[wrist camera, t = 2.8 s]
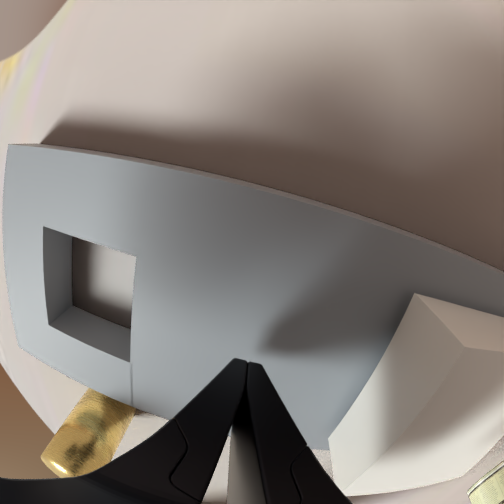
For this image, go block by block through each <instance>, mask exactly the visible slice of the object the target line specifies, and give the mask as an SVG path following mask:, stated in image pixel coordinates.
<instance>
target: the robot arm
mask: <svg viewBox="0 0 504 504" xmlns="http://www.w3.org/2000/svg"><path fill="white" fill-rule="evenodd" d="M231 426H232V427H231ZM230 429H231V440H230V456H229V473H228V490H227V504H352V503H351V501H350V500H349V499H348V498H347V497H346V496H345V495H344V493H343V492H342V491H341V490H340V489H339V488H338V487H337V485H336V484H335V483H334V482H333V480H332V479H331V478H330V477H329V475H328V474H327V473H326V471H325V470H324V469H323V467H322V466H321V464H320V463H319V461H318V460H317V458H316V457H315V455H314V454H313V452H312V450H311V449H310V447H309V446H307V442H306V441H305V439H304V437H303V436H302V434H301V432H300V431H299V429H298V427H297V425H296V424H295V422H294V420H293V419H292V417H291V415H290V413H289V412H288V410H287V408H286V407H285V405H284V403H283V401H282V400H281V398H280V396H279V394H278V392H277V391H276V389H275V387H274V385H273V384H272V382H271V380H270V378H269V376H268V375H267V373H266V371H265V369H264V367H263V365H262V364H260V363H256V362H251V361H249V362H248V363H247V361H246V360H243V359H239V358H233V359H232V360H231V361H230V362H229V363H228V364H227V365H226V366H225V367H224V368H223V369H222V370H221V371H220V372H219V373H218V374H217V375H216V376H215V377H214V378H213V379H212V380H211V381H210V382H209V383H208V384H207V385H206V386H205V387H204V388H203V389H202V390H201V391H200V392H199V393H198V394H197V395H196V396H195V397H194V398H193V399H192V400H191V401H190V402H189V403H188V404H187V405H186V406H185V407H183V408H182V409H181V410H180V411H179V412H178V413H177V414H176V415H175V416H174V417H173V418H172V419H170V420H169V421H168V422H167V423H166V424H165V425H164V426H163V427H162V428H160V429H159V430H158V431H157V432H156V433H154V434H153V435H152V436H151V437H149V438H148V439H146V440H145V441H143V442H142V443H140V444H139V445H137V446H136V447H134V448H133V449H131V450H129V451H128V452H126V453H125V454H123V455H121V456H119V457H118V458H116V459H114V460H113V461H111V462H109V463H107V464H106V465H104V466H102V467H100V468H98V469H96V470H94V471H92V472H90V473H87V474H84V475H80V476H75V477H66V478H52V479H8V478H1V477H0V504H201V503H202V500H203V498H204V495H205V493H206V491H207V488H208V486H209V483H210V481H211V478H212V476H213V473H214V471H215V468H216V466H217V463H218V460H219V458H220V455H221V453H222V450H223V448H224V445H225V442H226V440H227V437H228V434H229V432H230Z"/></svg>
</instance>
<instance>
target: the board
mask: <svg viewBox="0 0 504 504" xmlns="http://www.w3.org/2000/svg"><path fill="white" fill-rule="evenodd" d="M72 236H74V237H77V238H80V239H83V240H86V241H89V242H92V243H95V244H98V245H101V246H104V247H107V248H110V249H114V250H117V251H120V252H123V253H126V254H130V255H133V256H136V266H135V276H134V287H133V301H132V317H131V329H128V328H126V327H123V326H120V325H118V324H115V323H113V322H110V321H108V320H105V319H103V318H100V317H98V316H96V315H93V314H91V313H89V312H86V311H84V310H82V309H79V308H77V307H75V306H73V303H72ZM3 250H4V263H5V274H6V282H7V290H8V297H9V303H10V309H11V314H12V319H13V324H14V329H15V333H16V338H17V342H18V346H19V347H20V348H21V349H23V350H24V351H26V352H27V353H29V354H30V355H32V356H34V357H35V358H37V359H38V360H40V361H42V362H43V363H45V364H47V365H48V366H50V367H52V368H53V369H55V370H57V371H59V372H60V373H62V374H64V375H66V376H68V377H70V378H71V379H73V380H75V381H77V382H79V383H81V384H83V385H85V386H87V387H89V388H91V389H93V390H95V391H97V392H100V393H102V394H104V395H106V396H108V397H111V398H113V399H115V400H117V401H120V402H122V403H125V404H127V405H130V406H132V407H135V408H137V409H140V410H142V411H145V412H148V413H150V414H153V415H156V416H159V417H162V418H165V419H168V420H170V419H172V418H173V417H174V416H175V415H176V414H177V413H178V412H179V411H180V410H181V409H182V408H183V407H185V406H186V405H187V404H188V403H189V402H190V401H191V400H192V399H193V398H194V397H195V396H196V395H197V394H198V393H199V392H200V391H201V390H202V389H203V388H204V387H205V386H206V385H207V384H208V383H209V382H210V381H211V380H212V379H213V378H214V377H215V376H216V375H217V374H218V373H219V372H220V371H221V370H222V369H223V368H224V367H225V366H226V365H227V364H228V363H229V362H230V361H231V360H232V359H233V358H239V359H243V360H246V361H247V363H248V362H249V361H251V362H256V363H260V364H262V365H263V367H264V369H265V371H266V373H267V375H268V376H269V378H270V380H271V382H272V384H273V385H274V387H275V389H276V391H277V392H278V394H279V396H280V398H281V400H282V401H283V403H284V405H285V407H286V408H287V410H288V412H289V413H290V415H291V417H292V419H293V420H294V422H295V424H296V425H297V427H298V429H299V431H300V432H301V434H302V436H303V437H304V439H305V441H306V442H307V446H309V447H310V449H317V450H330V448H329V441H328V438H329V437H330V435H331V434H332V433H333V431H334V430H335V429H336V427H337V426H338V425H339V423H340V422H341V420H342V419H343V418H344V416H345V415H346V413H347V412H348V411H349V409H350V408H351V406H352V405H353V403H354V402H355V400H356V399H357V397H358V396H359V394H360V393H361V391H362V390H363V388H364V386H365V385H366V383H367V382H368V380H369V378H370V377H371V375H372V373H373V372H374V370H375V368H376V367H377V365H378V363H379V362H380V360H381V358H382V356H383V355H384V353H385V351H386V349H387V347H388V346H389V344H390V342H391V340H392V338H393V336H394V334H395V332H396V330H397V328H398V326H399V324H400V322H401V320H402V318H403V316H404V314H405V312H406V310H407V308H408V306H409V304H410V301H411V299H412V297H413V295H414V293H416V294H420V295H424V296H427V297H431V298H435V299H438V300H442V301H446V302H449V303H453V304H457V305H460V306H464V307H467V308H471V309H475V310H478V311H482V312H486V313H489V314H493V315H496V316H500V317H504V271H501V270H499V269H497V268H495V267H493V266H491V265H488V264H486V263H484V262H482V261H479V260H477V259H475V258H473V257H470V256H468V255H466V254H463V253H461V252H458V251H456V250H454V249H451V248H449V247H446V246H444V245H441V244H439V243H436V242H434V241H431V240H429V239H426V238H423V237H421V236H418V235H416V234H413V233H410V232H408V231H405V230H402V229H399V228H397V227H394V226H391V225H388V224H385V223H383V222H380V221H377V220H374V219H371V218H368V217H365V216H362V215H359V214H356V213H353V212H350V211H347V210H344V209H341V208H338V207H334V206H331V205H328V204H325V203H321V202H318V201H315V200H312V199H308V198H305V197H301V196H298V195H294V194H291V193H287V192H284V191H280V190H277V189H273V188H269V187H266V186H262V185H258V184H254V183H250V182H246V181H242V180H238V179H234V178H230V177H226V176H222V175H218V174H214V173H209V172H205V171H200V170H196V169H191V168H187V167H182V166H177V165H172V164H167V163H162V162H157V161H152V160H147V159H141V158H136V157H130V156H125V155H119V154H113V153H106V152H100V151H93V150H86V149H79V148H72V147H64V146H55V145H46V144H8V150H7V158H6V166H5V177H4V190H3ZM231 427H232V426H231ZM228 436H230V437H231V429H230V432H229V434H228Z"/></svg>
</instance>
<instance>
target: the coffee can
mask: <svg viewBox="0 0 504 504" xmlns="http://www.w3.org/2000/svg"><path fill="white" fill-rule="evenodd" d="M467 495H468V496H469V499H470V502H471V504H504V461H503V462H501V463H500V464H499V465H497V466H496V467H495V468H493V469H492V470H491V471H490V472H488V473H487V474H486V475H485V476H483V477H482V478H481V479H480V480H479V481H478V482H476V483H475V484H474V485H473V486H472V487H471V488H470V489H469V490H468V492H467Z"/></svg>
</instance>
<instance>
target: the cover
mask: <svg viewBox="0 0 504 504" xmlns="http://www.w3.org/2000/svg"><path fill="white" fill-rule="evenodd" d="M503 436H504V317H500V316H496V315H493V314H489V313H486V312H482V311H478V310H475V309H471V308H467V307H464V306H460V305H457V304H453V303H449V302H446V301H442V300H438V299H435V298H431V297H427V296H424V295H420V294H416V293H414V295H413V297H412V299H411V301H410V304H409V306H408V308H407V310H406V312H405V314H404V316H403V318H402V320H401V322H400V324H399V326H398V328H397V330H396V332H395V334H394V336H393V338H392V340H391V342H390V344H389V346H388V347H387V349H386V351H385V353H384V355H383V356H382V358H381V360H380V362H379V363H378V365H377V367H376V368H375V370H374V372H373V373H372V375H371V377H370V378H369V380H368V382H367V383H366V385H365V386H364V388H363V390H362V391H361V393H360V394H359V396H358V397H357V399H356V400H355V402H354V403H353V405H352V406H351V408H350V409H349V411H348V412H347V413H346V415H345V416H344V418H343V419H342V420H341V422H340V423H339V425H338V426H337V427H336V429H335V430H334V431H333V433H332V434H331V435H330V437H329V438H328V441H329V448H330V455H331V462H332V469H333V477H334V483H335V484H336V485H337V487H338V488H339V489H340V490H341V491H342V492H343V493H344V495H345V496H359V495H371V494H380V493H388V492H395V491H402V490H407V489H413V488H418V487H423V486H428V485H432V484H436V483H440V482H444V481H448V480H451V479H455V478H458V477H462V476H463V475H464V474H465V473H466V472H468V471H469V470H470V469H471V468H472V467H473V466H474V465H475V464H476V463H477V462H478V461H479V460H480V459H482V458H483V457H484V456H485V455H486V454H487V453H488V452H489V451H490V450H491V449H492V447H493V446H494V445H495V444H496V443H497V442H498V441H499V440H500V439H501V438H502V437H503Z"/></svg>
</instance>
